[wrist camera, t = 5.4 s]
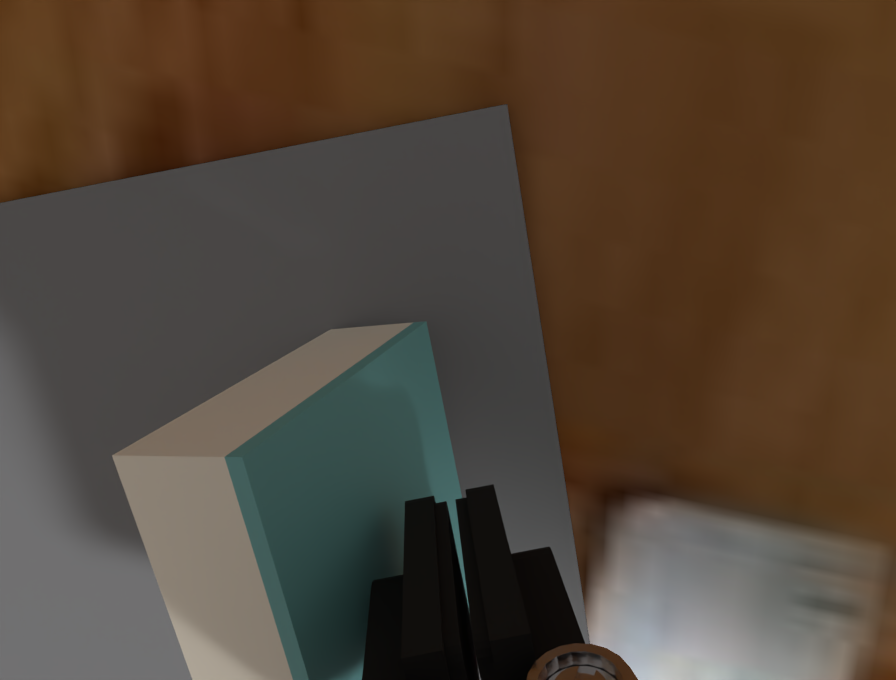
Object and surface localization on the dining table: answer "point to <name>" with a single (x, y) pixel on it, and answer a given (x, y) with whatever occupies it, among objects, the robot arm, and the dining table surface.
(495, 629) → the robot arm
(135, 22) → the dining table surface
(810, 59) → the dining table surface
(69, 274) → the mat
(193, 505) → the tile
